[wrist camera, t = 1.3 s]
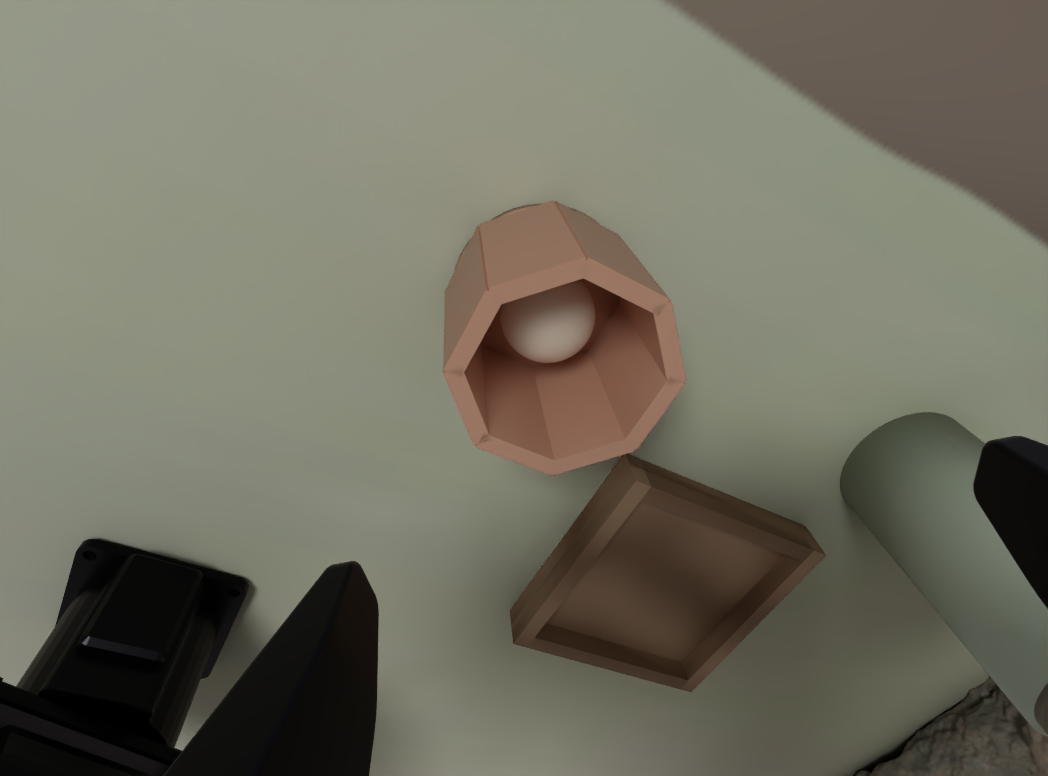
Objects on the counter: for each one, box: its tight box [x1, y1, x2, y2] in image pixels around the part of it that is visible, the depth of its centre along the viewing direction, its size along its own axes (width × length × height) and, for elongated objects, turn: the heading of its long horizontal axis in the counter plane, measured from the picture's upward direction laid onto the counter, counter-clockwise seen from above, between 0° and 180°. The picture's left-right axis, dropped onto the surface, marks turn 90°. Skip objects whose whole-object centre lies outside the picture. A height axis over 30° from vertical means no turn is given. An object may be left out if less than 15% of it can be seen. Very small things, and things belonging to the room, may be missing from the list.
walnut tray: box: [510, 454, 826, 692], centre depth 28 cm, size 10×10×2 cm
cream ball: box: [500, 280, 595, 363], centre depth 20 cm, size 3×3×3 cm
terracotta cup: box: [443, 200, 686, 475], centre depth 19 cm, size 6×6×6 cm
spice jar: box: [840, 412, 1048, 736], centre depth 22 cm, size 6×6×11 cm
